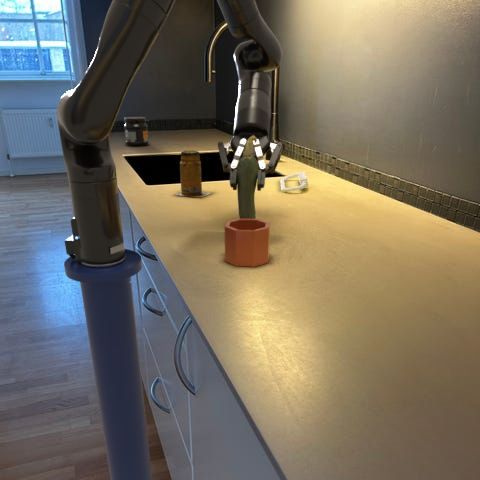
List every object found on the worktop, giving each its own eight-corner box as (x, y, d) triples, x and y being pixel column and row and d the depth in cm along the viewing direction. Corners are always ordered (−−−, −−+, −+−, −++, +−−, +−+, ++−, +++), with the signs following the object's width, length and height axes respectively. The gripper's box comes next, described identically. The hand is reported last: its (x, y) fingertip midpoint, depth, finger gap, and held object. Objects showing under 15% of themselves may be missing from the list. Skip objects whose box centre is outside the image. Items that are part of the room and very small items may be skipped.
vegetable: (235, 235, 108) (233, 136, 99) (241, 229, 112) (239, 133, 103) (255, 237, 107) (255, 136, 98) (260, 231, 111) (260, 133, 102)
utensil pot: (223, 265, 98) (222, 230, 95) (229, 251, 106) (228, 217, 102) (267, 267, 97) (268, 231, 94) (269, 252, 105) (270, 219, 102)
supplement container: (152, 144, 241) (150, 116, 236) (142, 147, 232) (140, 119, 227) (132, 143, 244) (130, 116, 239) (121, 146, 235) (119, 118, 230)
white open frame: (281, 184, 169) (279, 173, 168) (305, 178, 168) (303, 166, 166) (282, 198, 152) (280, 186, 150) (309, 192, 150) (307, 179, 149)
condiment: (187, 190, 155) (185, 149, 150) (212, 193, 152) (211, 151, 146) (175, 195, 149) (172, 152, 144) (200, 198, 146) (199, 154, 140)
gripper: (217, 105, 106) (209, 177, 100) (286, 105, 104) (282, 178, 99) (221, 129, 113) (214, 197, 108) (286, 130, 111) (282, 199, 106)
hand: (246, 188), depth 103 cm, fingers closed on vegetable, 4 cm apart
